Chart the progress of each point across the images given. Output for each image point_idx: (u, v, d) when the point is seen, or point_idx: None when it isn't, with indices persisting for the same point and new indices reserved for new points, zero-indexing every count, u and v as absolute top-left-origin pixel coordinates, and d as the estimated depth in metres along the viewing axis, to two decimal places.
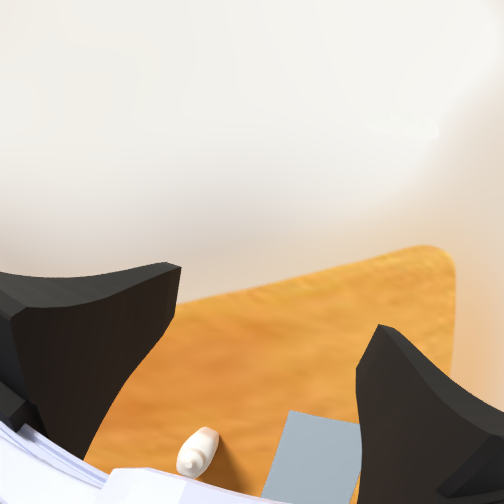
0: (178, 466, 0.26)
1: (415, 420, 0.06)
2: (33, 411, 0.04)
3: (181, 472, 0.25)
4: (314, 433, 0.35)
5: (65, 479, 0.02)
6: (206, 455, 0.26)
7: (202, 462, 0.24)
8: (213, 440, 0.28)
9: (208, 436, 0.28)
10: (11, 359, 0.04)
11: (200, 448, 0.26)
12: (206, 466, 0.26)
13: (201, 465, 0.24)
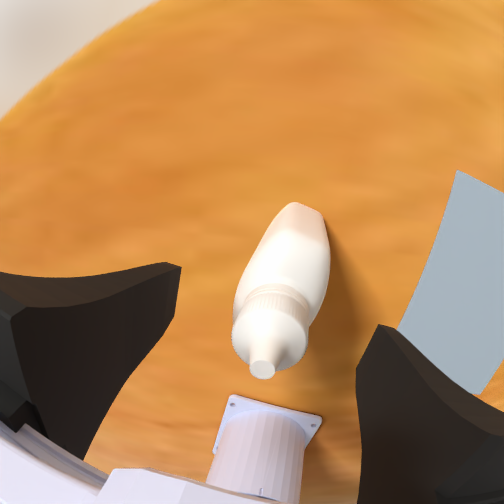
0: None
1: (415, 420, 0.06)
2: (33, 411, 0.04)
3: None
4: (491, 224, 0.16)
5: (65, 479, 0.02)
6: (310, 299, 0.11)
7: (304, 341, 0.09)
8: (327, 250, 0.12)
9: (313, 239, 0.12)
10: (11, 359, 0.04)
11: (294, 280, 0.11)
12: (308, 325, 0.12)
13: (301, 351, 0.09)
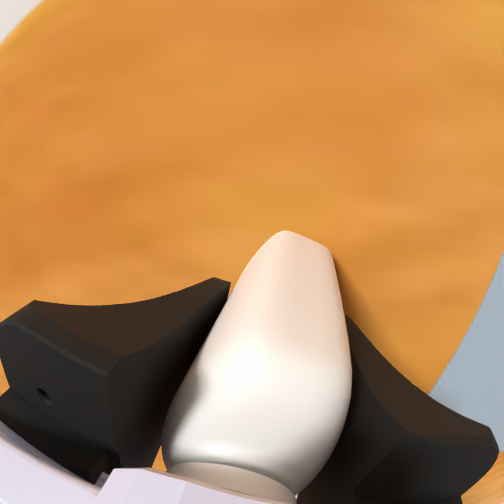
0: None
1: None
2: (110, 457, 0.04)
3: None
4: None
5: (65, 479, 0.02)
6: (302, 475, 0.04)
7: None
8: (347, 376, 0.05)
9: (318, 356, 0.05)
10: (96, 412, 0.03)
11: (267, 453, 0.04)
12: None
13: None
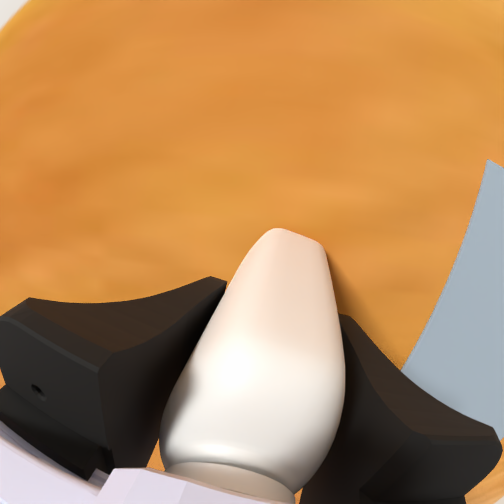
0: None
1: (351, 411, 0.06)
2: (103, 454, 0.04)
3: None
4: None
5: (65, 479, 0.02)
6: (299, 473, 0.04)
7: None
8: (339, 370, 0.05)
9: (307, 350, 0.05)
10: (88, 408, 0.03)
11: (261, 450, 0.04)
12: None
13: None
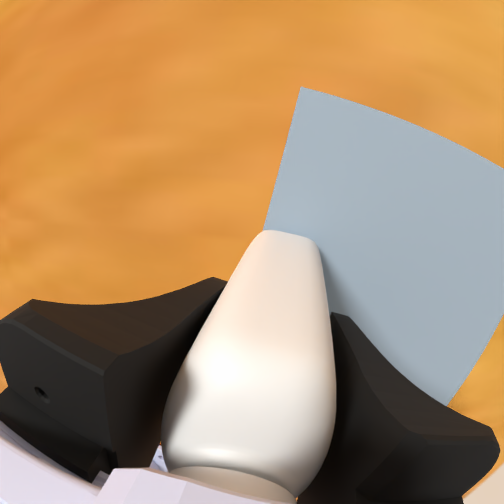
0: None
1: (348, 410, 0.06)
2: (108, 456, 0.04)
3: None
4: (391, 181, 0.10)
5: (65, 479, 0.02)
6: (297, 471, 0.04)
7: None
8: (324, 363, 0.05)
9: (287, 346, 0.05)
10: (93, 411, 0.03)
11: (252, 451, 0.04)
12: None
13: None
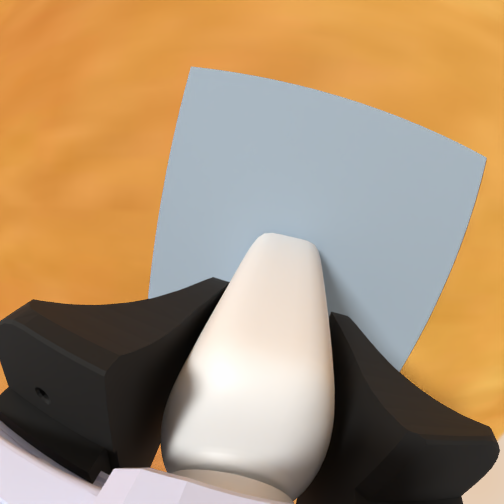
0: None
1: (348, 410, 0.06)
2: (109, 457, 0.04)
3: None
4: (280, 146, 0.11)
5: (65, 479, 0.02)
6: (295, 475, 0.04)
7: None
8: (322, 369, 0.05)
9: (286, 352, 0.05)
10: (94, 412, 0.03)
11: (250, 455, 0.04)
12: None
13: None
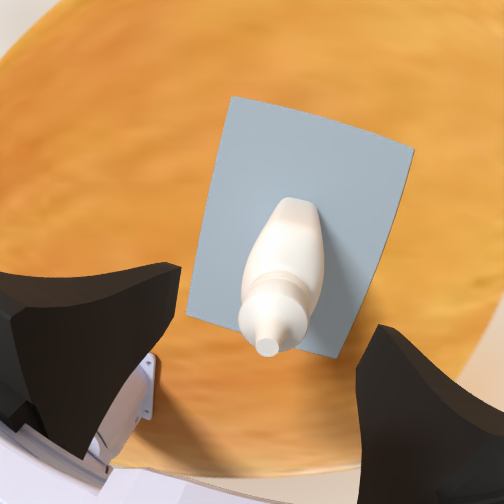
0: None
1: (415, 420, 0.06)
2: (33, 411, 0.04)
3: None
4: (285, 145, 0.19)
5: (65, 479, 0.02)
6: (309, 280, 0.12)
7: (305, 317, 0.10)
8: (316, 232, 0.13)
9: (302, 224, 0.13)
10: (11, 359, 0.04)
11: (290, 265, 0.12)
12: (313, 306, 0.13)
13: (304, 327, 0.10)
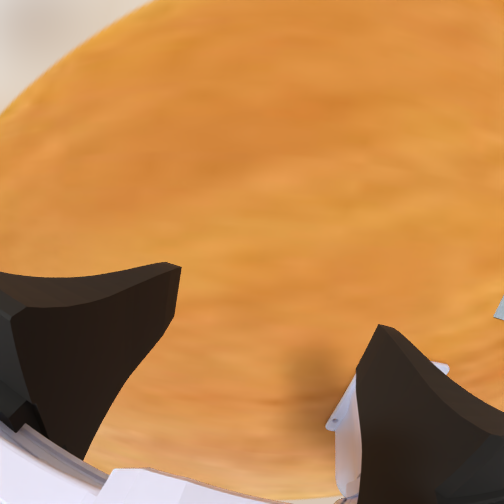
0: None
1: (415, 420, 0.06)
2: (33, 411, 0.04)
3: None
4: None
5: (65, 479, 0.02)
6: None
7: None
8: None
9: None
10: (11, 359, 0.04)
11: None
12: None
13: None
